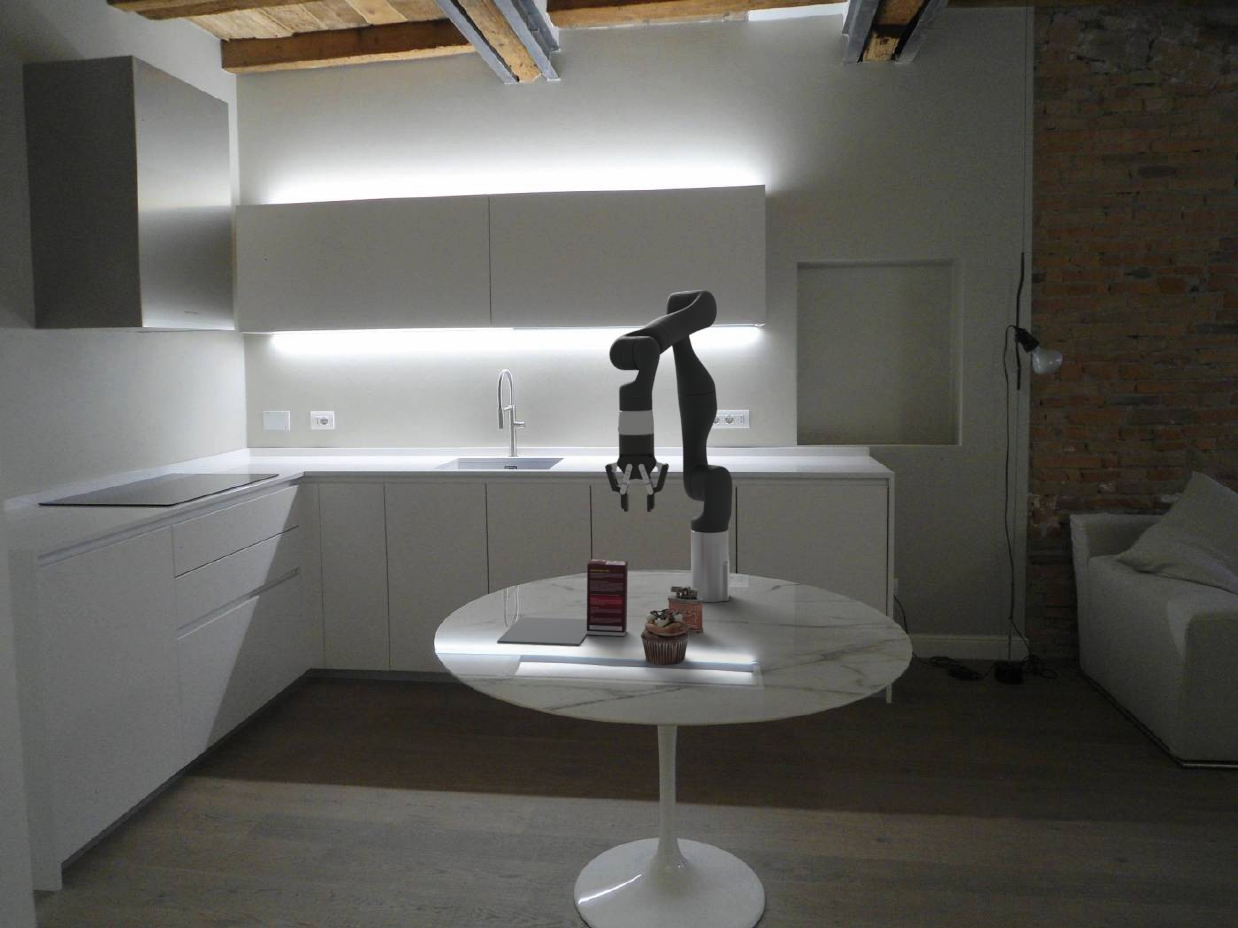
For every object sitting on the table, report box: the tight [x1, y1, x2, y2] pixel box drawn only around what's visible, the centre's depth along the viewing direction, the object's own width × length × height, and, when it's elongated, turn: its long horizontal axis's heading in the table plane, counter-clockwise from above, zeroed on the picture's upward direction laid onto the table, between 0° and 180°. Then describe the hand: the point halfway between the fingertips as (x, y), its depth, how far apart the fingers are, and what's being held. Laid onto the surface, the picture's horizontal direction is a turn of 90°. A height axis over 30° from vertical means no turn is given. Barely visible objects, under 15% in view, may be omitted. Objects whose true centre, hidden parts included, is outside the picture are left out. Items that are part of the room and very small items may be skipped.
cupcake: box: [640, 608, 690, 666], centre depth 187 cm, size 10×10×10 cm
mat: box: [496, 616, 588, 646], centre depth 207 cm, size 18×18×1 cm
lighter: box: [667, 585, 704, 635], centre depth 205 cm, size 8×3×10 cm, turn 65°
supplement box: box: [586, 558, 629, 637], centre depth 204 cm, size 9×5×16 cm, turn 84°
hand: (637, 510), depth 200 cm, fingers open, 4 cm apart
